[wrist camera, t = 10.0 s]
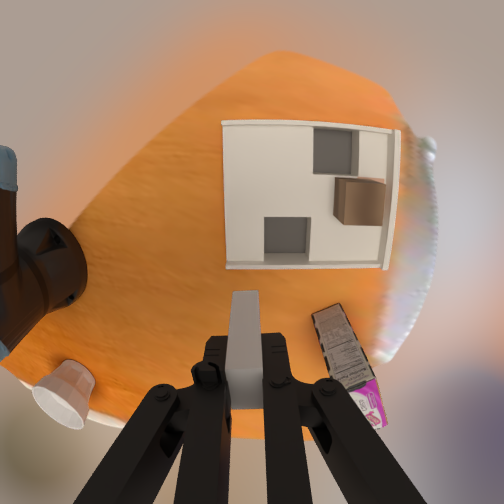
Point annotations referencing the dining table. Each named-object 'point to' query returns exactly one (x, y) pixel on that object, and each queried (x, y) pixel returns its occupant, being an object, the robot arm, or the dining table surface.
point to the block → (359, 201)
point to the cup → (66, 394)
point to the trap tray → (304, 193)
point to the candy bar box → (349, 362)
